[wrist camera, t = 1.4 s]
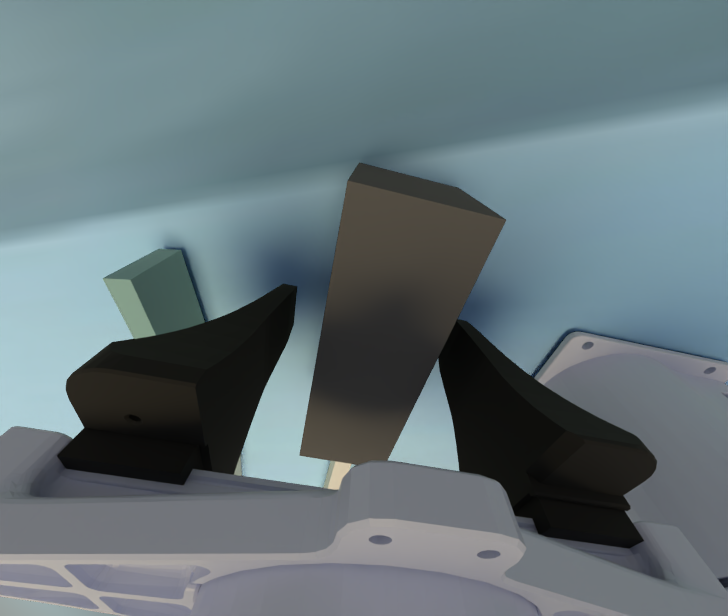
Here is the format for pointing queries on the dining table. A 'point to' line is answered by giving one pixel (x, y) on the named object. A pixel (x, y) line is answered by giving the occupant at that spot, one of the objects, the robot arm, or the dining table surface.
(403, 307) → the dark brown rectangular block
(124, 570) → the robot arm
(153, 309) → the sage green post
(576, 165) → the dining table surface
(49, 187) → the dining table surface
